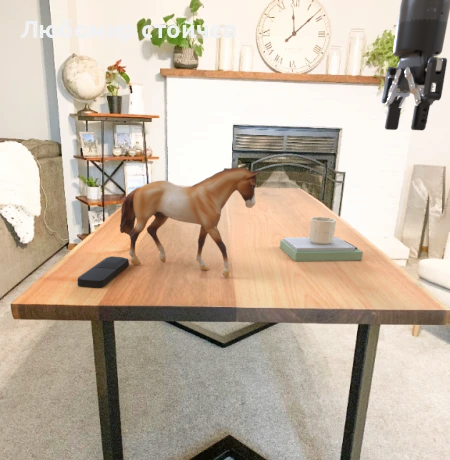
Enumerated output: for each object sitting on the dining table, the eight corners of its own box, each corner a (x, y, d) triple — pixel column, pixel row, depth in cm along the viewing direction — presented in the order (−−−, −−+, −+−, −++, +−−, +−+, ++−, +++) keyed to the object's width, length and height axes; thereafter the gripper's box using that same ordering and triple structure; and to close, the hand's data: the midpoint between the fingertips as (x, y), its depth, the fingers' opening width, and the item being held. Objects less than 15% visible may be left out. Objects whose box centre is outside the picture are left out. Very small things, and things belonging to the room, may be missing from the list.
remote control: (102, 291, 78) (130, 264, 92) (101, 281, 78) (130, 255, 91) (76, 288, 79) (108, 262, 93) (75, 279, 78) (107, 254, 92)
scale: (340, 247, 113) (341, 236, 112) (361, 260, 102) (363, 248, 101) (279, 247, 110) (280, 236, 109) (295, 261, 99) (296, 249, 98)
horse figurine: (256, 273, 90) (263, 168, 82) (243, 284, 83) (250, 171, 75) (124, 253, 100) (119, 158, 92) (103, 262, 93) (97, 159, 85)
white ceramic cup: (327, 239, 108) (330, 216, 106) (336, 245, 103) (339, 221, 101) (304, 239, 107) (307, 216, 105) (313, 245, 102) (315, 221, 100)
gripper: (473, 14, 65) (448, 131, 71) (418, 32, 78) (401, 130, 84) (427, 9, 64) (406, 129, 70) (378, 28, 77) (364, 128, 83)
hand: (403, 129), depth 77 cm, fingers open, 8 cm apart
